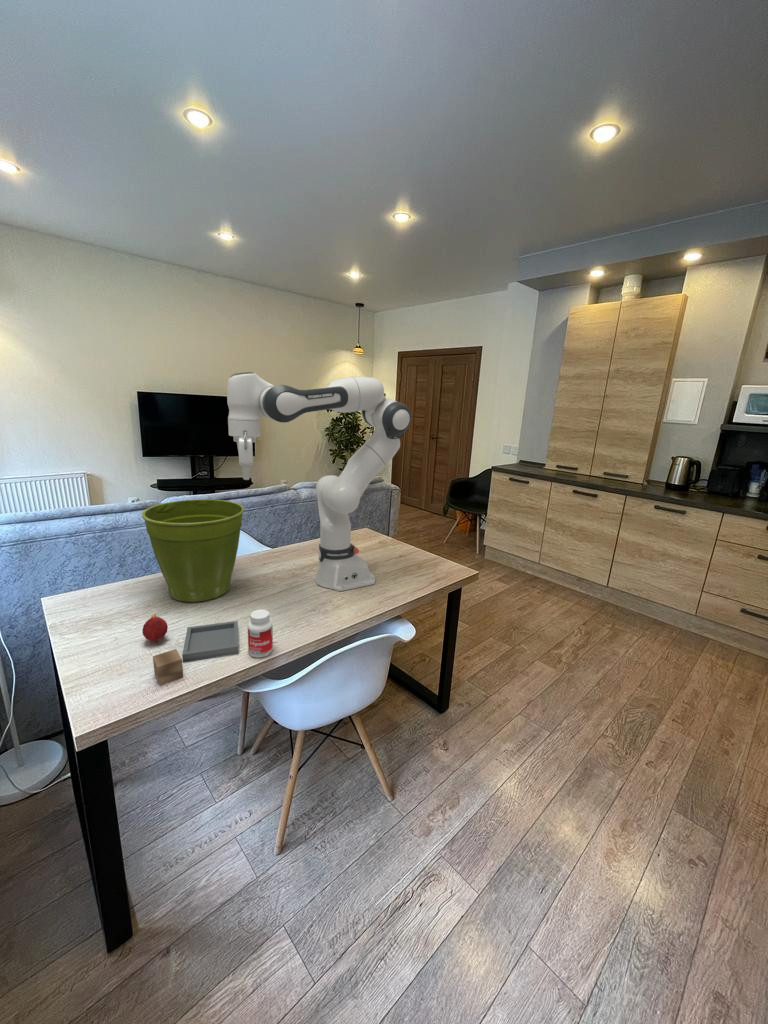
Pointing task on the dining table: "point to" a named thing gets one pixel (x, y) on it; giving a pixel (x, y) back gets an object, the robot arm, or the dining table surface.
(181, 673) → the walnut block
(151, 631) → the red round piece
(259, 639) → the pill bottle
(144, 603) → the dining table surface
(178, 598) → the plant pot
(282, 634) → the dining table surface
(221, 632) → the tray
